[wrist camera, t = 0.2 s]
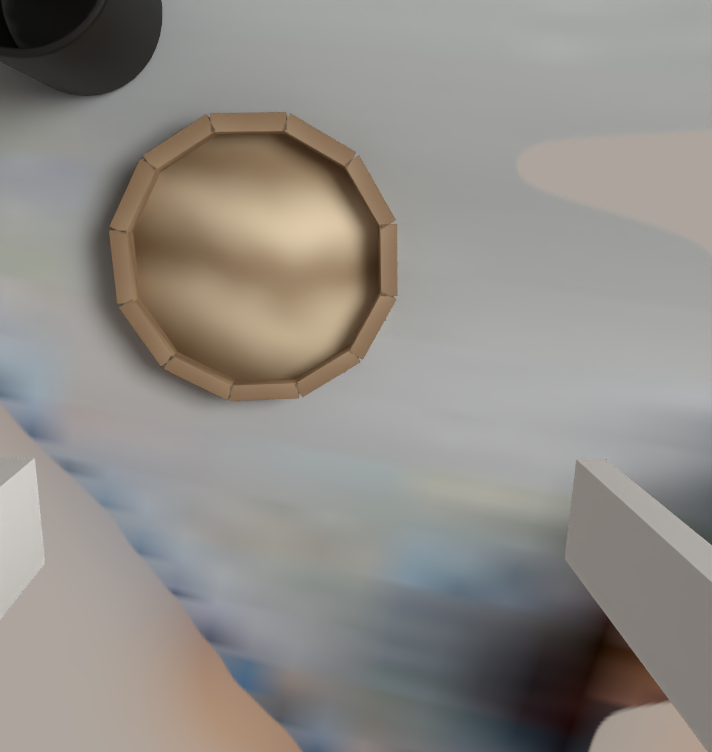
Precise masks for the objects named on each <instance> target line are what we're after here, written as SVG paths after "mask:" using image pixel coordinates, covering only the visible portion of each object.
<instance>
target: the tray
mask: <svg viewBox="0 0 712 752" xmlns="http://www.w3.org/2000/svg"><path fill="white" fill-rule="evenodd" d="M355 153H356V152H355V151H353V150H352V149H350V148H348V147H346V146H345V145H343V144H341V143H340V142H338V141H336V140H335V139H333V138H331V137H329V136H328V135H326V134H324V133H323V132H321V131H319V130H318V129H316V128H314V127H312V126H311V125H309V124H307V123H306V122H304V121H302V120H301V119H299V118H297V117H295V116H294V115H292V114H290V115H289V117H288V119H287V114H286V112H269V113H210V118H209V117H208V116H207V115H204V116H203V117H201V118H200V119H198V120H196V121H195V122H193V123H192V124H190V125H189V126H187V127H186V128H184V129H183V130H181V131H180V132H178V133H177V134H175V135H173V136H172V137H170V138H169V139H167V140H166V141H164V142H163V143H161V144H160V145H158V146H157V147H155V148H154V149H152V150H150V151H149V152H147V153H146V154H144V155H143V156H144V158H145V159H146V161H145V160H142V159H140V160H139V162H138V165H137V167H136V169H135V171H134V173H133V176H132V178H131V180H130V182H129V184H128V187H127V189H126V191H125V193H124V195H123V198H122V200H121V202H120V204H119V206H118V209H117V211H116V213H115V215H114V217H113V220H112V222H111V224H110V227H112V228H114V229H116V230H109V236H110V245H111V254H112V263H113V272H114V281H115V290H116V298H117V304H123V303H125V304H123V305H122V306H120V307H119V309H120V310H121V312H122V313H123V314H124V316H125V317H126V319H127V320H128V321H129V323H130V324H131V326H132V327H133V328H134V330H135V331H136V333H137V334H138V335H139V337H140V338H141V340H142V341H143V342H144V344H145V345H146V347H147V348H148V349H149V351H150V352H151V354H152V355H153V356H154V358H155V359H156V361H157V362H158V363H159V365H160V366H162V365H164V364H165V363H167V364H166V366H165V368H164V369H165V370H167V371H169V372H171V373H173V374H175V375H177V376H179V377H181V378H183V379H185V380H187V381H189V382H191V383H193V384H195V385H197V386H199V387H201V388H203V389H205V390H207V391H209V392H211V393H213V394H215V395H217V396H219V397H221V398H224V399H226V400H227V399H228V397H229V395H230V399H231V401H241V400H268V399H294V398H299V393H300V394H301V396H302V397H304V396H305V395H307V394H309V393H310V392H312V391H314V390H315V389H317V388H319V387H320V386H322V385H324V384H325V383H327V382H328V381H330V380H332V379H333V378H335V377H337V376H338V375H340V374H342V373H343V372H345V371H347V370H348V369H350V368H352V367H353V366H355V365H356V364H358V363H360V360H359V358H361V359H363V358H364V357H365V355H366V353H367V351H368V349H369V348H370V346H371V344H372V342H373V340H374V339H375V337H376V335H377V333H378V331H379V330H380V328H381V326H382V324H383V323H384V321H385V319H386V317H387V315H388V314H389V312H390V310H391V308H392V306H393V305H394V303H395V301H396V299H395V298H394V297H393V296H397V224H390V223H392V222H394V221H395V220H396V219H395V218H394V216H393V214H392V212H391V211H390V209H389V207H388V205H387V204H386V202H385V200H384V198H383V197H382V195H381V193H380V191H379V189H378V188H377V186H376V184H375V182H374V181H373V179H372V177H371V175H370V174H369V172H368V170H367V168H366V167H365V165H364V163H363V161H362V160H361V158H360V156H357V157H355V158H354V159H353V157H354V155H355Z"/></svg>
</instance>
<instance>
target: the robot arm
mask: <svg viewBox="0 0 712 752" xmlns="http://www.w3.org/2000/svg"><path fill="white" fill-rule="evenodd" d="M565 560H566V561H567V563H568V564H569V565H570V567H571V568H572V569H573V571H574V572H575V573H576V575H577V576H578V577H579V579H580V580H581V581H582V583H583V584H584V585H585V587H586V588H587V590H588V591H589V592H590V594H591V595H592V596H593V598H594V599H595V600H596V602H597V603H598V604H599V606H600V607H601V608H602V610H603V611H604V612H605V614H606V615H607V616H608V618H609V619H610V621H611V622H612V623H613V625H614V626H615V627H616V629H617V630H618V631H619V633H620V634H621V635H622V637H623V638H624V639H625V641H626V642H627V643H628V645H629V646H630V648H631V649H632V650H633V652H634V653H635V654H636V656H637V657H638V658H639V660H640V661H641V662H642V664H643V665H644V666H645V668H646V669H647V670H648V672H649V673H650V675H651V676H652V677H653V679H654V680H655V681H656V683H657V684H658V685H659V687H660V688H661V689H662V691H663V692H664V693H665V695H666V696H667V697H668V699H669V700H670V701H671V703H672V704H673V706H674V707H675V708H676V710H677V711H678V712H679V714H680V715H681V716H682V718H683V719H684V720H685V722H686V723H687V724H688V726H689V727H690V728H691V730H692V731H693V733H694V734H695V735H696V737H697V738H698V739H699V740H700V742H701V743H702V745H703V746H704V747H705V749H706V750H707V751H708V752H712V545H710V544H709V543H708V542H707V541H706V540H704V539H703V538H702V537H701V536H699V535H698V534H697V533H696V532H694V531H693V530H692V529H691V528H690V527H688V526H687V525H686V524H685V523H683V522H682V521H681V520H680V519H679V518H677V517H676V516H675V515H674V514H672V513H671V512H670V511H669V510H668V509H666V508H665V507H664V506H663V505H661V504H660V503H659V502H658V501H656V500H655V499H654V498H653V497H652V496H650V495H649V494H648V493H647V492H645V491H644V490H643V489H642V488H641V487H639V486H638V485H637V484H636V483H634V482H633V481H632V480H631V479H630V478H628V477H627V476H626V475H625V474H623V473H622V472H621V471H620V470H618V469H617V468H616V467H615V466H614V465H612V464H611V463H610V462H609V461H607V460H606V459H576V468H575V476H574V484H573V493H572V501H571V510H570V518H569V527H568V535H567V543H566V552H565ZM44 564H45V557H44V547H43V537H42V528H41V516H40V508H39V496H38V487H37V477H36V467H35V458H0V619H1V618H2V617H3V616H4V615H5V613H6V612H7V611H8V610H9V608H10V607H11V606H12V604H13V603H14V602H15V601H16V599H17V598H18V597H19V596H20V594H21V593H22V592H23V590H24V589H25V588H26V587H27V586H28V584H29V583H30V582H31V580H32V579H33V578H34V577H35V575H36V574H37V573H38V572H39V570H40V569H41V568H42V567H43V565H44Z"/></svg>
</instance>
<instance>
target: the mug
mask: <svg viewBox="0 0 712 752" xmlns="http://www.w3.org/2000/svg"><path fill="white" fill-rule="evenodd" d="M161 26H162V2H161V0H0V61H1V62H3V63H5V64H7V65H9V66H11V67H13V68H15V69H17V70H19V71H21V72H23V73H25V74H27V75H29V76H31V77H32V78H34V79H36V80H38V81H40V82H42V83H44V84H46V85H48V86H50V87H52V88H55V89H57V90H59V91H63V92H67V93H70V94H77V95H97V94H103V93H107V92H111V91H113V90H116V89H118V88H120V87H122V86H124V85H125V84H127V83H128V82H130V81H131V80H133V79H134V78H135V77H136V76H137V75H138V74H139V73H140V72H141V71H142V70H143V69H144V68H145V66H146V65H147V63H148V62H149V61H150V59H151V57H152V55H153V53H154V51H155V49H156V46H157V43H158V40H159V37H160V32H161Z"/></svg>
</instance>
